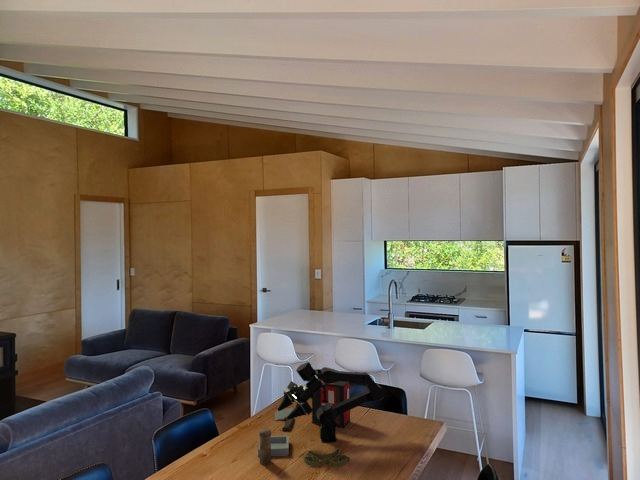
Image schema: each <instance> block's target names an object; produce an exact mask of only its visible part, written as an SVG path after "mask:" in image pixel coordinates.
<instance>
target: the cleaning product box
mask: <svg viewBox="0 0 640 480" xmlns="http://www.w3.org/2000/svg"><path fill="white" fill-rule="evenodd" d="M316 378H317V377H316ZM317 379H318V378H317ZM320 380H321V379H320ZM321 382H322V383H323V384H326V386H325V388H326V390H325V391H324V390H322V389H321V388H320V389H319V390H318V391H317V392H316V393H315V394H314V395H313V397H314V398H313V399H311V408H312V413H311V417H312V418H311V424H314V425H320V426H321V423H320V421H319V419H318V417H317V415H316V413H317V410H318V409H319V408H320V407H321V406H323V405H325V404H327V403H329V404H330V405H336V404H338V403H340V402H342V401H345V400H347V399H349V398H351V382H346V381H339V382H336V383H329V384H327V383H324V382H323V381H322V380H321ZM335 422H336V423H337V426H336V428H339V429H345V428H346V427H347V426H348V425H349V424H350V422H351V410H349V411H347V412H344V413H342V414H340V415H338V416H337V418H336V419H335Z"/></svg>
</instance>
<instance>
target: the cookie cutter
mask: <svg viewBox="0 0 640 480" xmlns="http://www.w3.org/2000/svg"><path fill="white" fill-rule="evenodd" d="M341 451H342V450H341V448H340V447H337V448H336V449H335V450H334V451H332V452H330V453H326V454H325V453H324V454H323V453H321V454H320V453H317V452H314V451H312V450H307V455H305V456H303V461H304V463H305V464H306V465H308V466H311V467H319V466H323V465H324V464H326V463H327V464H328V465H329V466H333V468H334V467H341V466H344V465H346V464H347V463H348V462H351V459H350V458H351V457H350V456H348V455H346V454H341ZM333 457H334V460H330V458H333ZM320 459H322V460H320Z"/></svg>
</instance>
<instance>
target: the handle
mask: <svg viewBox="0 0 640 480" xmlns="http://www.w3.org/2000/svg"><path fill="white" fill-rule="evenodd" d="M271 436H272V430H271V429H270V428H266V427H265V428H261V429H260V430H259V440H260V457H259V464H260V465H262V466H265V465H270V464H271V462H272V456H271Z"/></svg>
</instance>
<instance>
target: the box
mask: <svg viewBox="0 0 640 480" xmlns="http://www.w3.org/2000/svg"><path fill="white" fill-rule="evenodd" d="M289 439H290V438H289V435H271V457H285V456H288V457H289V450H290V449H289ZM258 442H259V443H258V448H257V457H259V458H260V439H259V440H258Z"/></svg>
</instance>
